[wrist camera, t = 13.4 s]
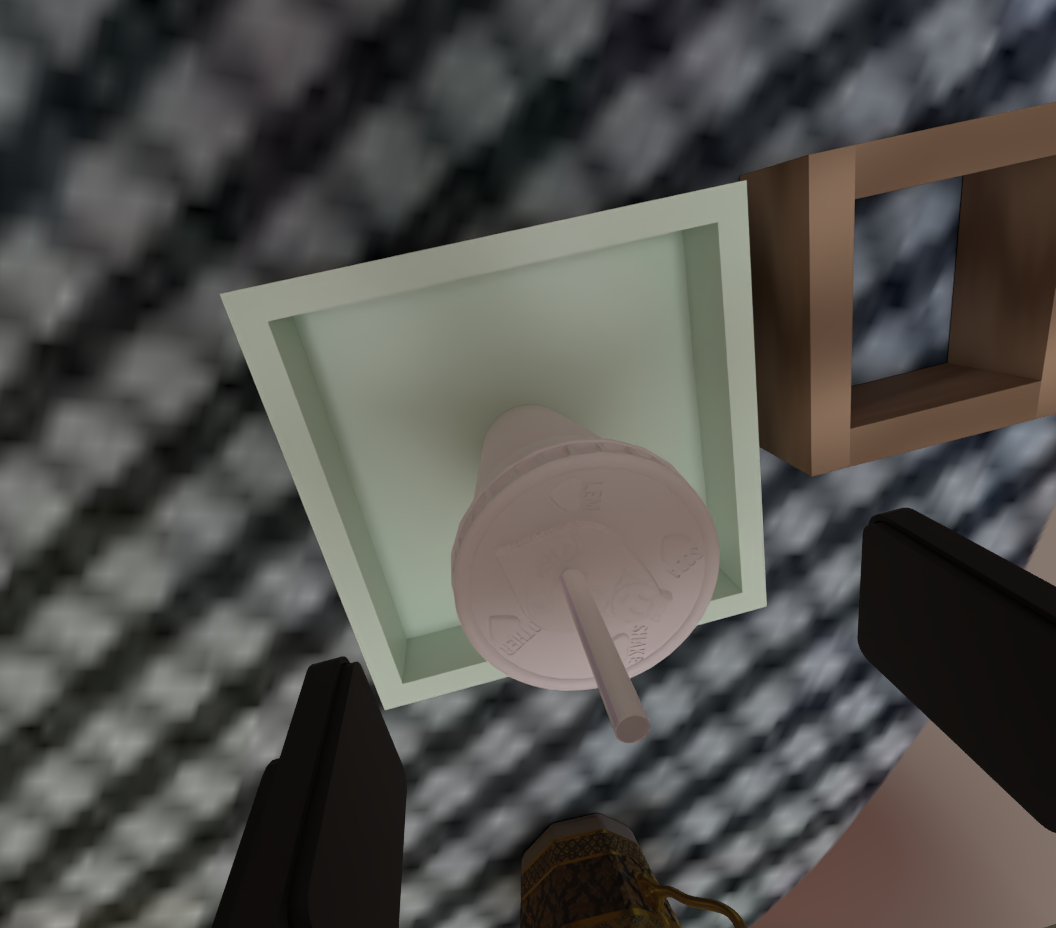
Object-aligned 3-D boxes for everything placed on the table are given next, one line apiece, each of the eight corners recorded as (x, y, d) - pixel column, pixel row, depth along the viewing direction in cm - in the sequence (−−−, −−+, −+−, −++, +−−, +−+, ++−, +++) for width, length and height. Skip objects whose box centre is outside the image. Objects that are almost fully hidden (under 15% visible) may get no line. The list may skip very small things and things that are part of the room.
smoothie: (485, 341, 20) (568, 489, 7) (635, 406, 21) (935, 624, 8) (423, 493, 21) (391, 849, 8) (566, 542, 23) (727, 901, 10)
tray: (258, 289, 19) (219, 294, 15) (696, 194, 20) (746, 179, 17) (392, 651, 25) (385, 710, 21) (725, 563, 26) (766, 606, 22)
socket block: (739, 175, 20) (808, 154, 16) (1003, 118, 20) (1128, 86, 17) (753, 443, 24) (811, 476, 20) (975, 387, 24) (1071, 409, 21)
